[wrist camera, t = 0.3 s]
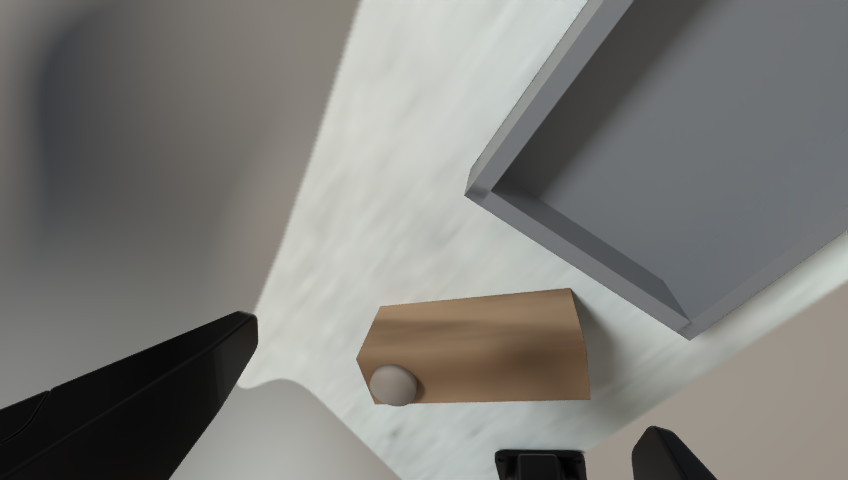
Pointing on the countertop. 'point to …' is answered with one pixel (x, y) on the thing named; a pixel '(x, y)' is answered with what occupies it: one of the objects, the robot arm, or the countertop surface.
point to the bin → (681, 149)
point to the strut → (477, 350)
